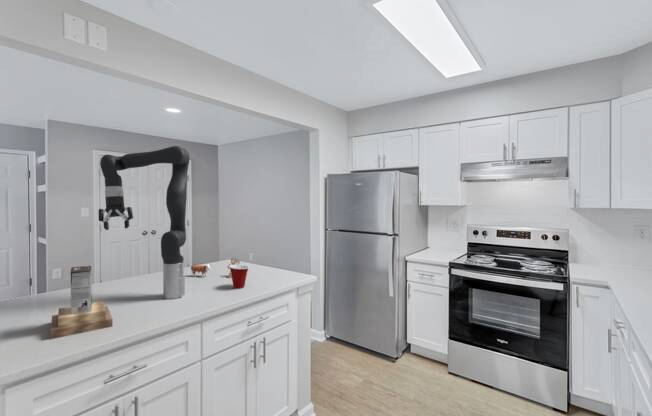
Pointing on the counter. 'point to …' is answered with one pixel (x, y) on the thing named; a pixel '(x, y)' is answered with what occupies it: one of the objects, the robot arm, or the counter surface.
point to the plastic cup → (238, 275)
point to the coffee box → (81, 289)
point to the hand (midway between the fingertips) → (116, 229)
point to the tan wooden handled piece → (229, 267)
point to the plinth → (79, 326)
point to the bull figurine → (200, 269)
